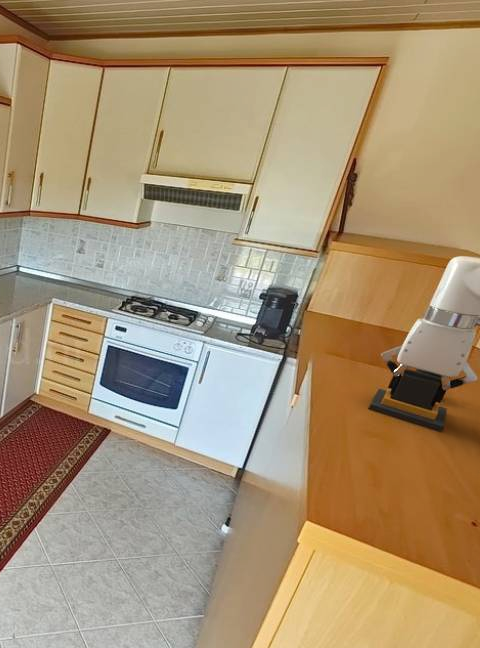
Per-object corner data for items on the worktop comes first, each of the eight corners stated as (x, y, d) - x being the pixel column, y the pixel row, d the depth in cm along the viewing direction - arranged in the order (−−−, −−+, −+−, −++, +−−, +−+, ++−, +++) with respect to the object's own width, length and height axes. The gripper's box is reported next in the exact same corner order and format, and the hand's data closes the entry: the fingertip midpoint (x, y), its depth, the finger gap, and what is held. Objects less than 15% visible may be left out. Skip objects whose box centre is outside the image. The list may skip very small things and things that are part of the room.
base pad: (441, 432, 97) (447, 420, 96) (368, 408, 105) (373, 397, 104) (444, 413, 107) (449, 402, 106) (376, 393, 115) (381, 382, 114)
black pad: (428, 409, 101) (440, 385, 99) (391, 398, 105) (402, 374, 103) (429, 401, 106) (441, 377, 104) (395, 391, 109) (405, 368, 107)
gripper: (508, 328, 96) (465, 409, 102) (397, 305, 107) (365, 380, 113) (510, 334, 91) (465, 419, 97) (393, 310, 102) (360, 387, 108)
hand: (412, 397), depth 105 cm, fingers closed on black pad, 6 cm apart
